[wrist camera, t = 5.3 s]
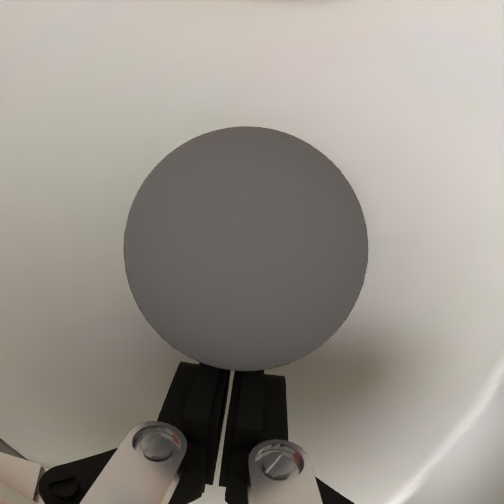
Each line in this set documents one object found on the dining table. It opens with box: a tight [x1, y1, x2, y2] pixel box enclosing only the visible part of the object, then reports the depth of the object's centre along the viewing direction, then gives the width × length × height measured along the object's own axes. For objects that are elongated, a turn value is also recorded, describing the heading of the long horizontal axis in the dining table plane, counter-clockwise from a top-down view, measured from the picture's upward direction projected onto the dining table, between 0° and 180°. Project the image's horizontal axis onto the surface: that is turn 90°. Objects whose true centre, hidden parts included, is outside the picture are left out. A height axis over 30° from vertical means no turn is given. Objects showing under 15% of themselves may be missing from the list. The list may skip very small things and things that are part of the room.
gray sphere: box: [124, 127, 368, 371], centre depth 7 cm, size 6×6×6 cm
